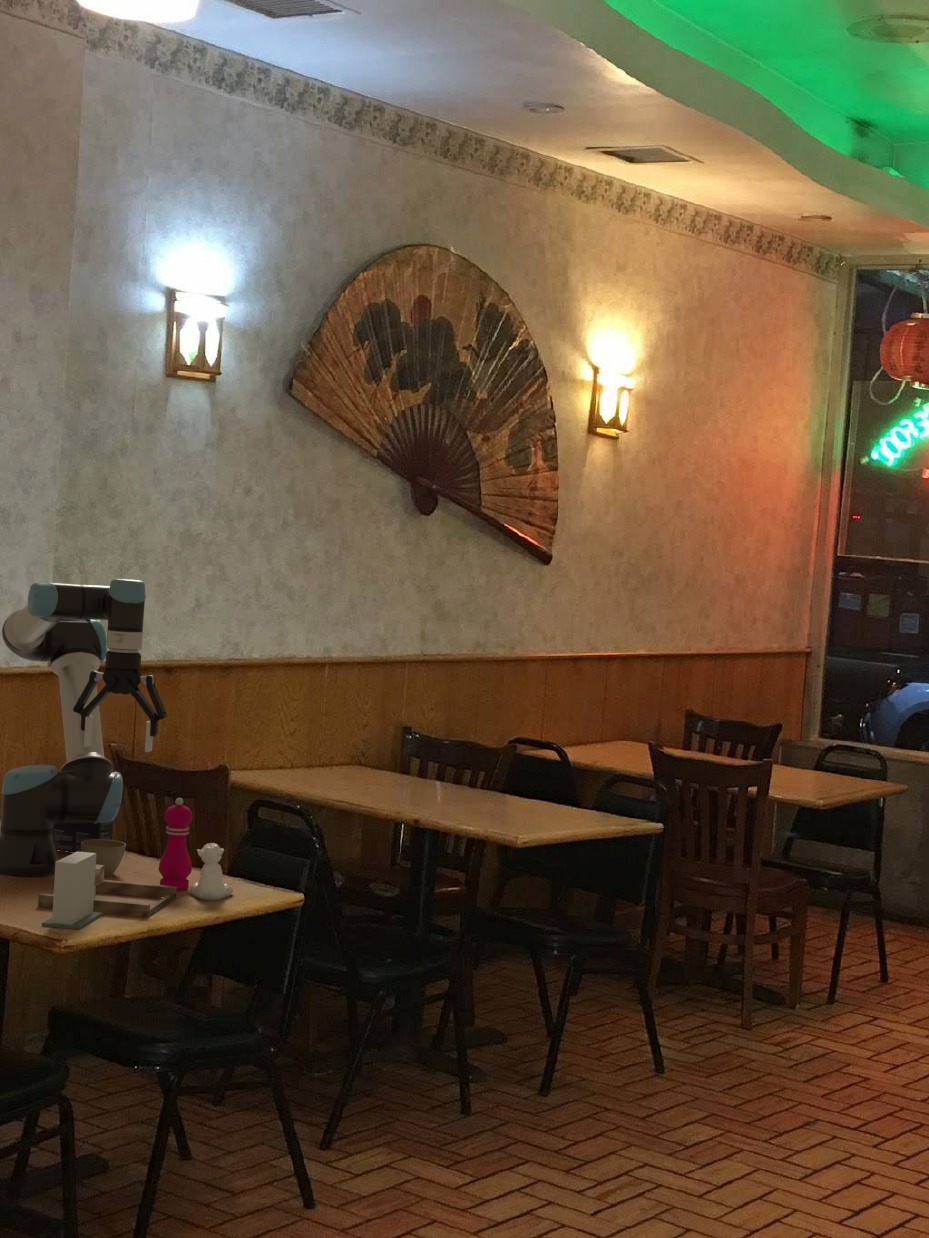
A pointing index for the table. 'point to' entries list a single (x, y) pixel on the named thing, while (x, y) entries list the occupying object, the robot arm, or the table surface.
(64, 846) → the small box
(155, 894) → the wooden tray
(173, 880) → the pepper mill
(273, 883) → the table surface
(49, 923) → the mat
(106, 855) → the flower pot
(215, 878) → the seated beast figurine
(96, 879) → the offcut top
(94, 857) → the block
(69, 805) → the robot arm
